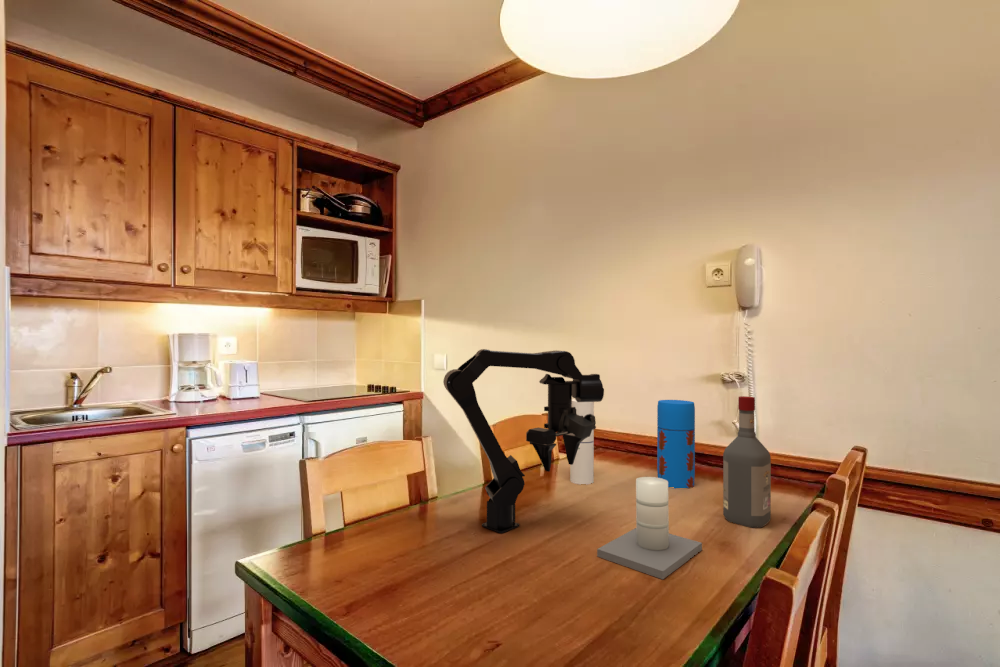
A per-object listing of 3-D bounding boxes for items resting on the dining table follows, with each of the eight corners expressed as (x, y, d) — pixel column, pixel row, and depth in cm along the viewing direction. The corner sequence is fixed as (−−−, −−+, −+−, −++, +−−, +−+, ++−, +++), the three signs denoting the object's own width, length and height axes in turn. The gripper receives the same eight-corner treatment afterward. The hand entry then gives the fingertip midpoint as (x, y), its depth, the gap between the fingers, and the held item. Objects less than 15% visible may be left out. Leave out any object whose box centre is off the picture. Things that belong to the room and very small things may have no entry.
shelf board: (662, 579, 92) (662, 571, 92) (597, 556, 101) (597, 548, 101) (701, 549, 105) (701, 542, 105) (640, 531, 114) (640, 525, 114)
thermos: (649, 481, 156) (649, 400, 156) (675, 477, 160) (675, 399, 161) (675, 490, 146) (675, 404, 146) (702, 486, 150) (702, 403, 151)
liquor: (773, 520, 122) (773, 397, 122) (760, 530, 116) (759, 400, 116) (734, 511, 129) (734, 394, 129) (720, 520, 122) (720, 397, 123)
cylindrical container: (593, 485, 151) (593, 402, 151) (569, 483, 152) (569, 401, 153) (593, 478, 158) (594, 399, 158) (570, 477, 159) (571, 398, 160)
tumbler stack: (648, 552, 100) (648, 486, 100) (630, 540, 106) (629, 478, 106) (675, 547, 102) (674, 483, 102) (655, 536, 108) (655, 475, 108)
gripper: (563, 409, 108) (563, 482, 108) (609, 402, 122) (609, 466, 122) (524, 405, 116) (524, 472, 116) (571, 398, 129) (571, 459, 129)
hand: (559, 467), depth 120 cm, fingers open, 9 cm apart
